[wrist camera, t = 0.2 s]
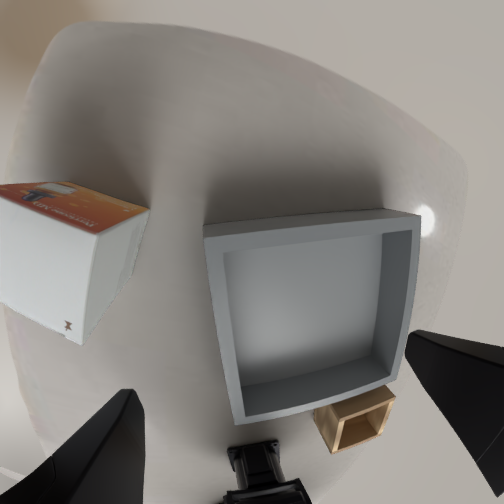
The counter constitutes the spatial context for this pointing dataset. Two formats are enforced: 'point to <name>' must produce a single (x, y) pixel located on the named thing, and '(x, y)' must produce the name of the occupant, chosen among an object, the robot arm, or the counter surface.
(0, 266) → the small box
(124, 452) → the robot arm
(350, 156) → the counter surface
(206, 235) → the slate gray crate
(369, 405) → the oak crate
